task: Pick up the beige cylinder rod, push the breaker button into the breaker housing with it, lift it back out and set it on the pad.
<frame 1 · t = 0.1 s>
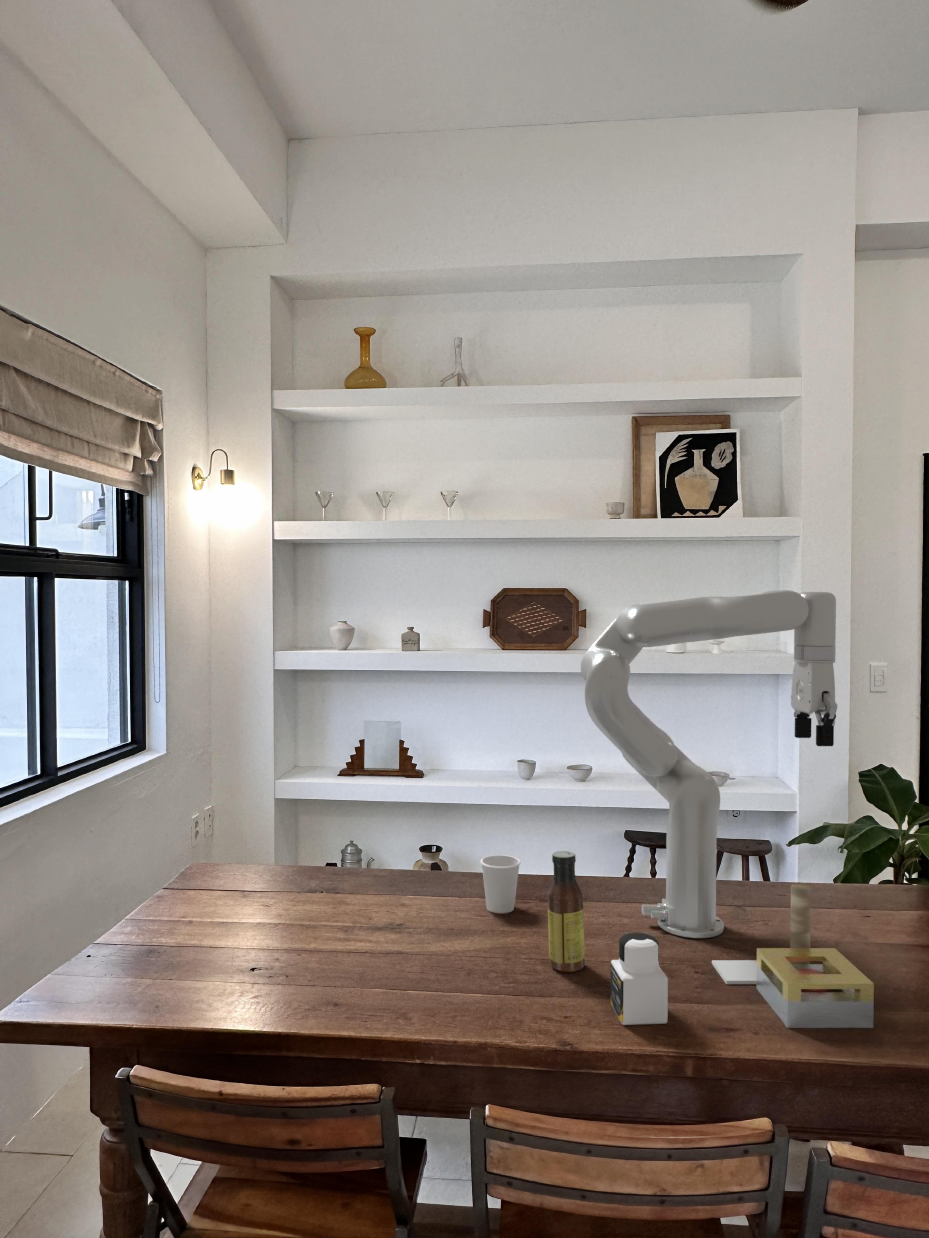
hand: (813, 741, 166), 37 cm above the table, tool pointing down, fingers open, 9 cm apart
breaker button: (812, 983, 133), point 4 cm above the table, slide at 0.0 cm
pad: (742, 973, 145), on the table
beige cylinder rod: (799, 973, 145), on the table
breaker housing: (811, 1006, 133), on the table
sauce bottle: (565, 967, 148), on the table
medicine bottle: (638, 1014, 131), on the table
dixie cup: (500, 909, 176), on the table
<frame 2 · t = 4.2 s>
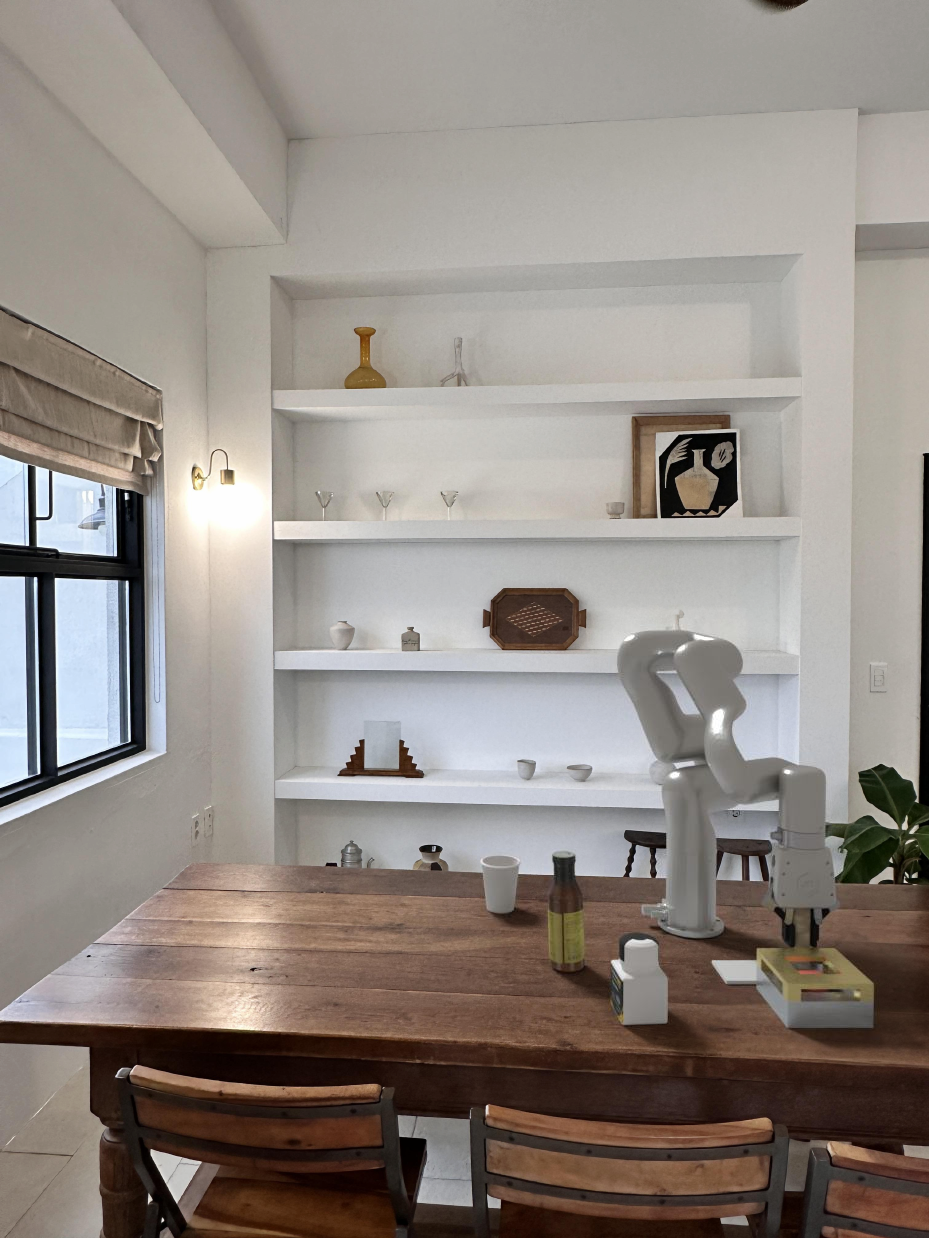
hand: (800, 943, 145), 5 cm above the table, tool pointing down, fingers closed on beige cylinder rod, 3 cm apart
beige cylinder rod: (799, 973, 145), on the table, touching gripper
everything else where it was.
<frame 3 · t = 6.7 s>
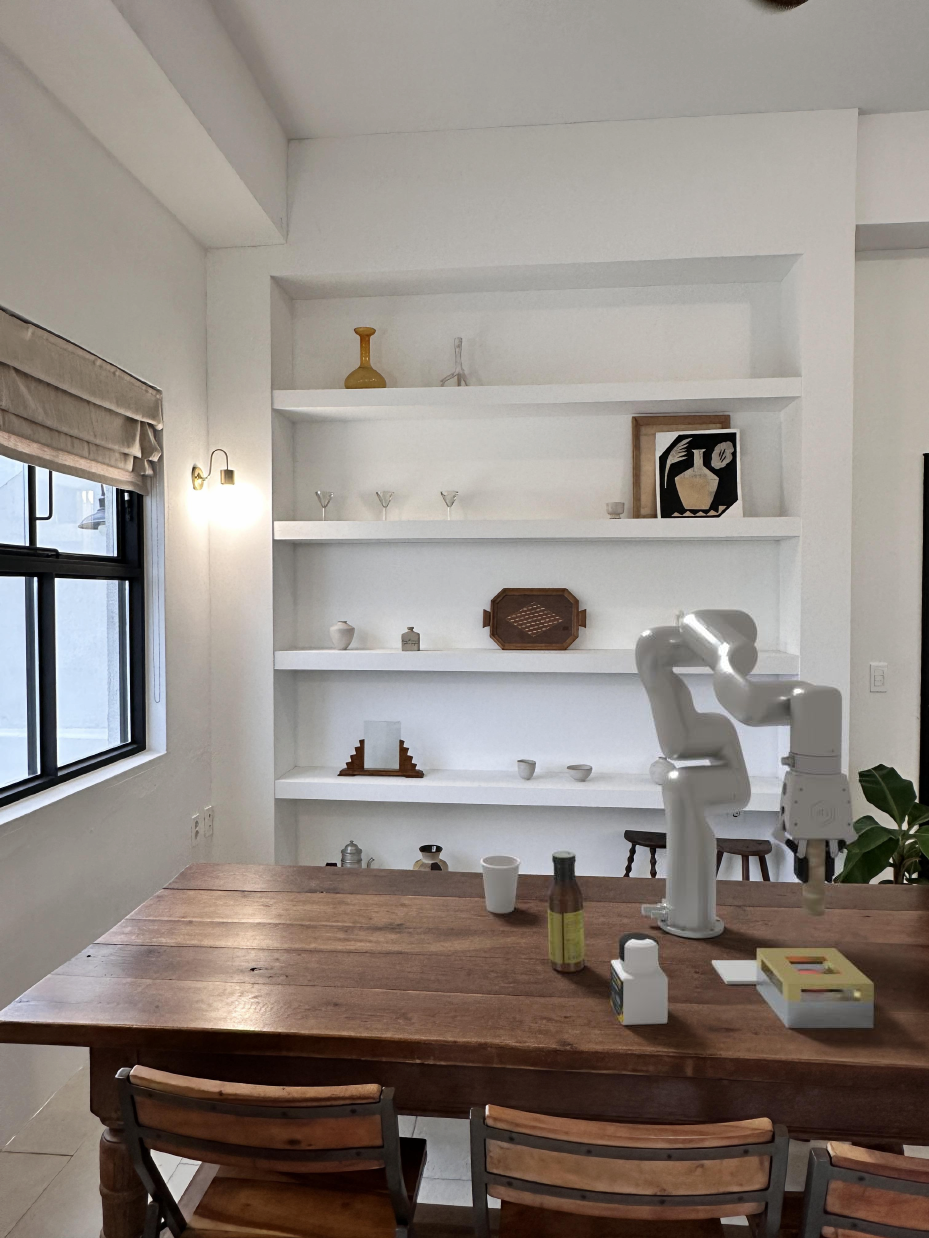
hand: (814, 879, 133), 20 cm above the table, tool pointing down, fingers closed on beige cylinder rod, 3 cm apart
beige cylinder rod: (813, 912, 133), point 15 cm above the table, touching gripper
everything else where it was.
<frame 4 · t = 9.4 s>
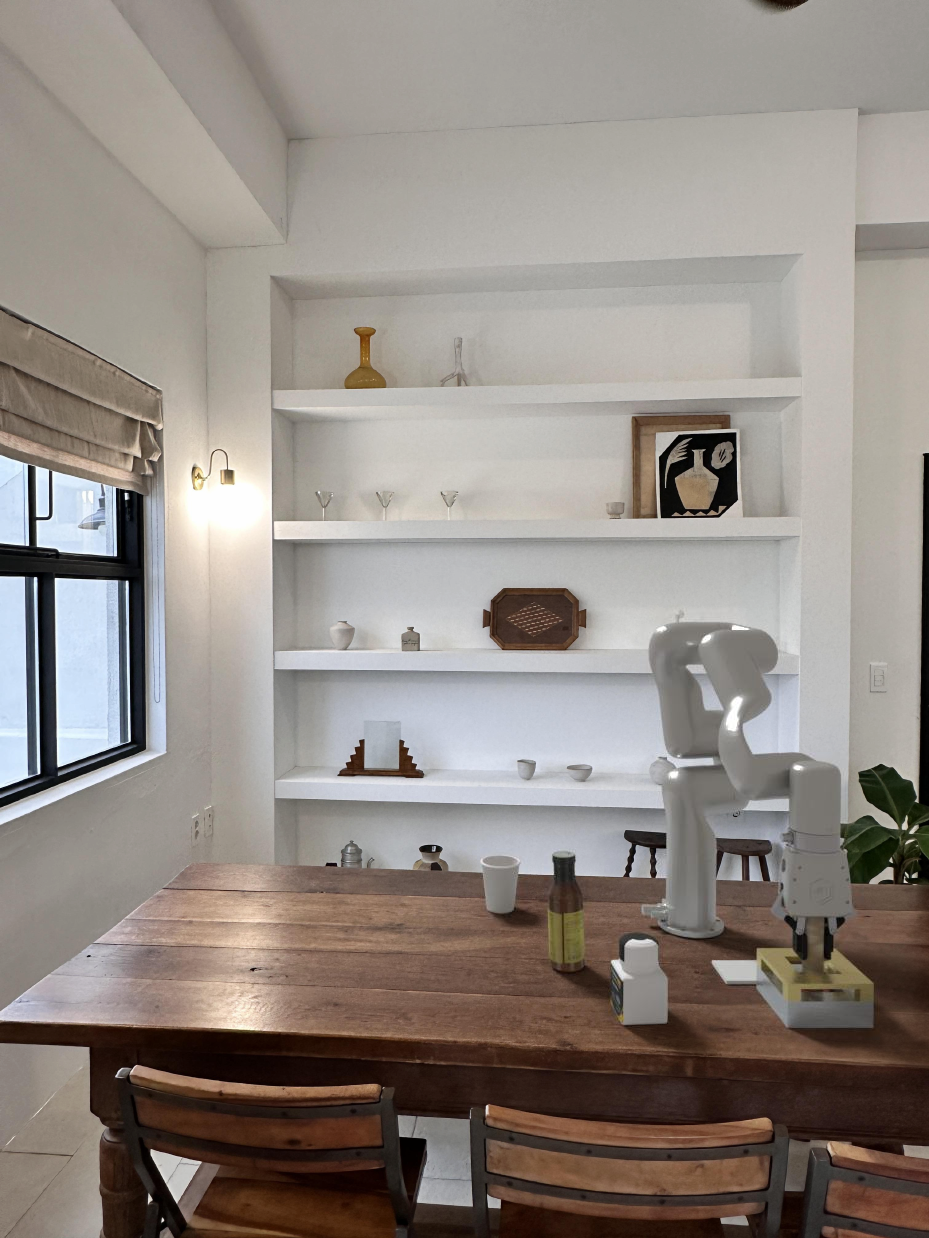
hand: (812, 955, 133), 8 cm above the table, tool pointing down, fingers closed on beige cylinder rod, 3 cm apart
breaker button: (812, 995, 133), point 2 cm above the table, slide at 2.0 cm
beige cylinder rod: (812, 988, 133), point 3 cm above the table, touching gripper
everything else where it was.
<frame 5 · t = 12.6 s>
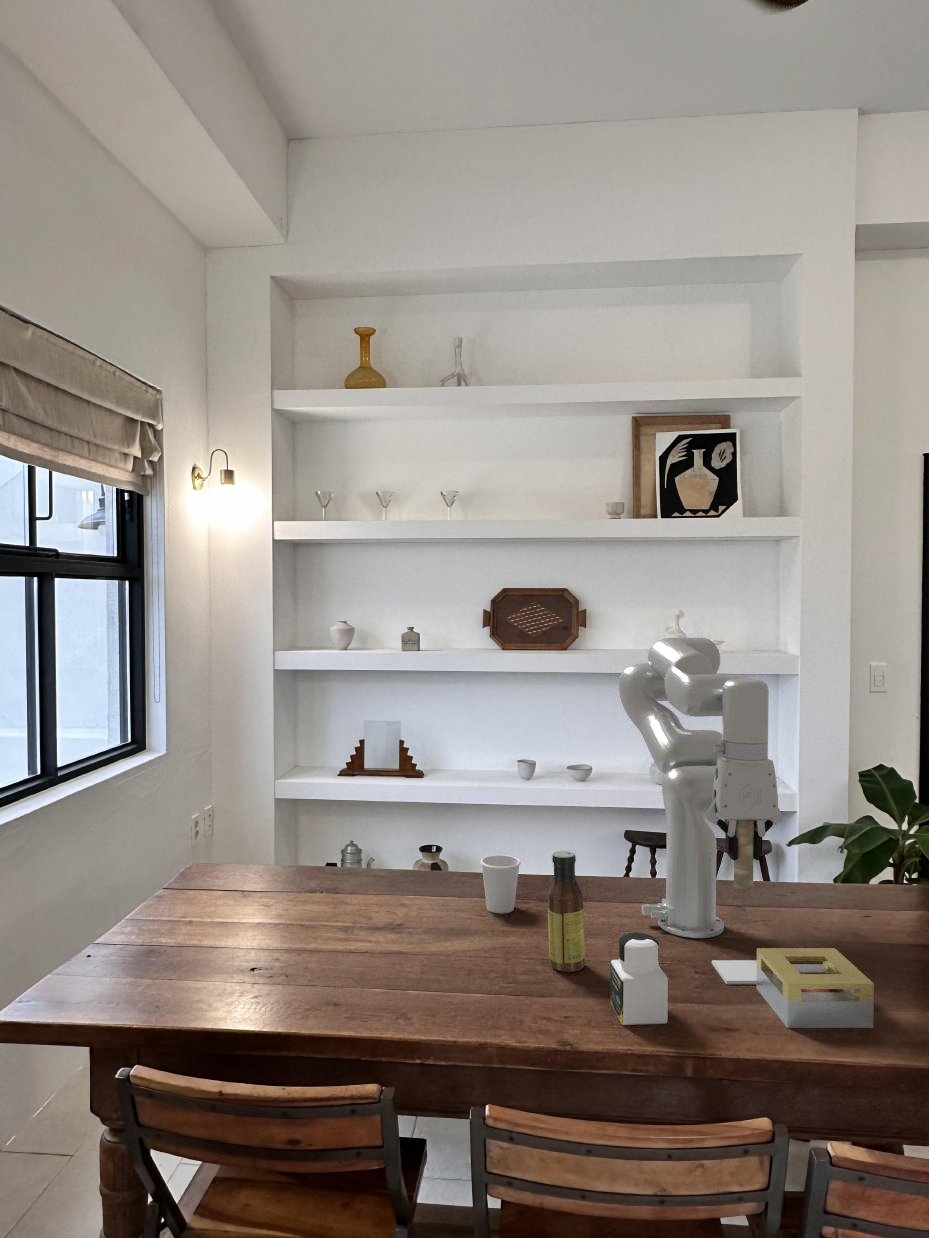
hand: (743, 856, 145), 20 cm above the table, tool pointing down, fingers closed on beige cylinder rod, 3 cm apart
beige cylinder rod: (743, 886, 145), point 15 cm above the table, touching gripper
everything else where it was.
when the fingers open (7 cm above the table, at t = 15.6 s): beige cylinder rod stays where it is, resting on pad.
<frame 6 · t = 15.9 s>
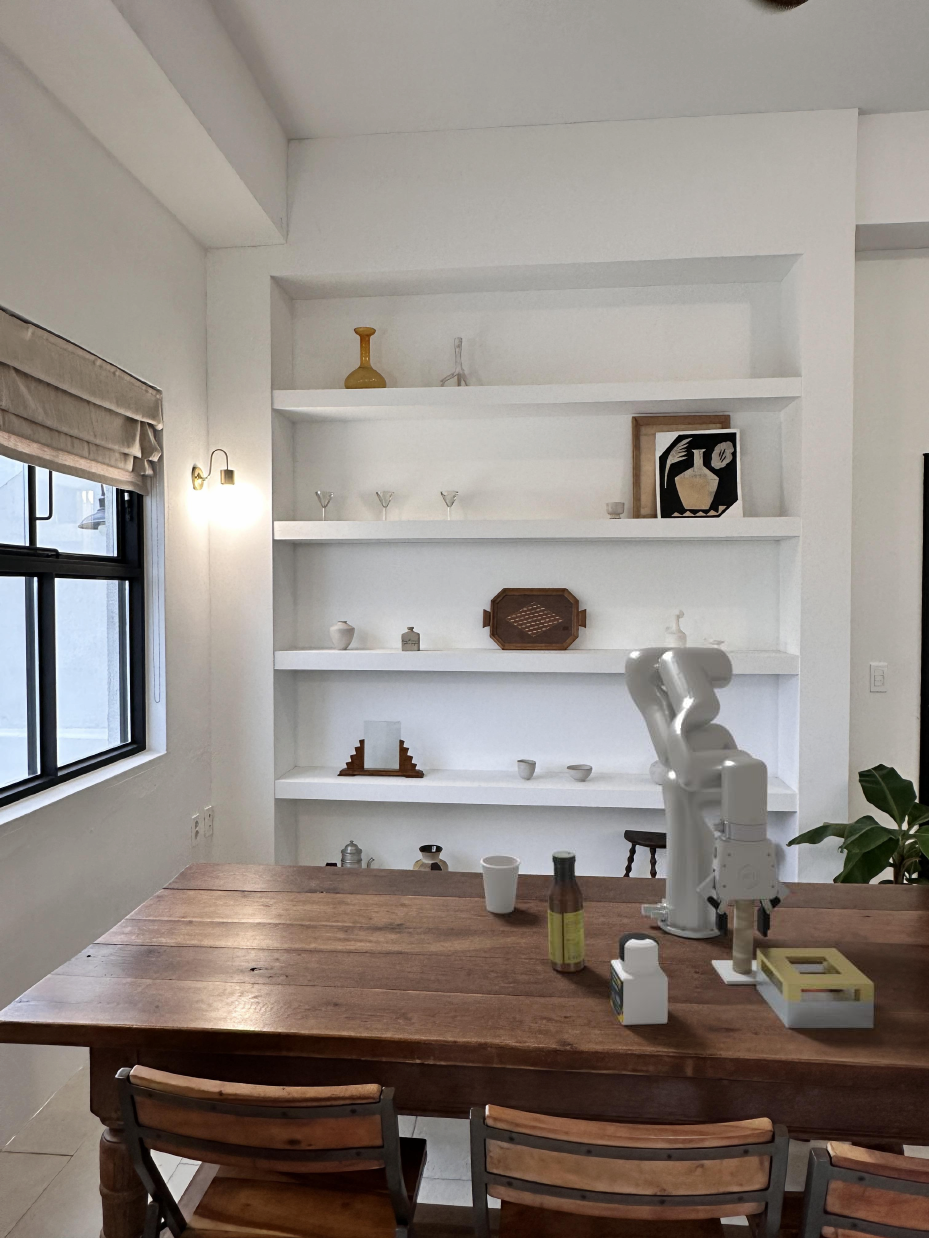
hand: (742, 933, 145), 7 cm above the table, tool pointing down, fingers open, 6 cm apart
beige cylinder rod: (742, 969, 145), point 1 cm above the table, touching pad
everything else where it was.
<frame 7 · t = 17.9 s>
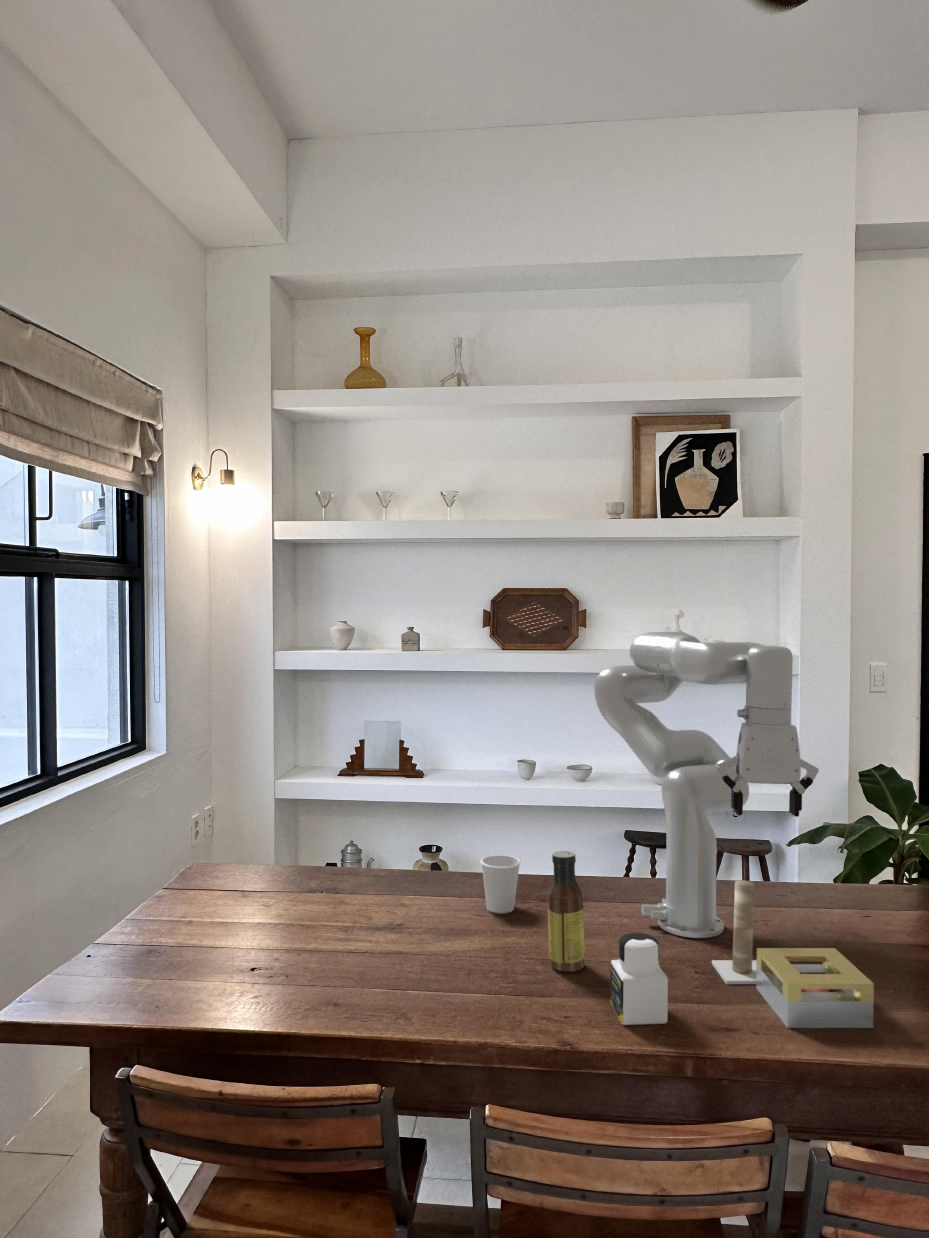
hand: (766, 813, 148), 27 cm above the table, tool pointing down, fingers open, 9 cm apart
nothing on the table moved.
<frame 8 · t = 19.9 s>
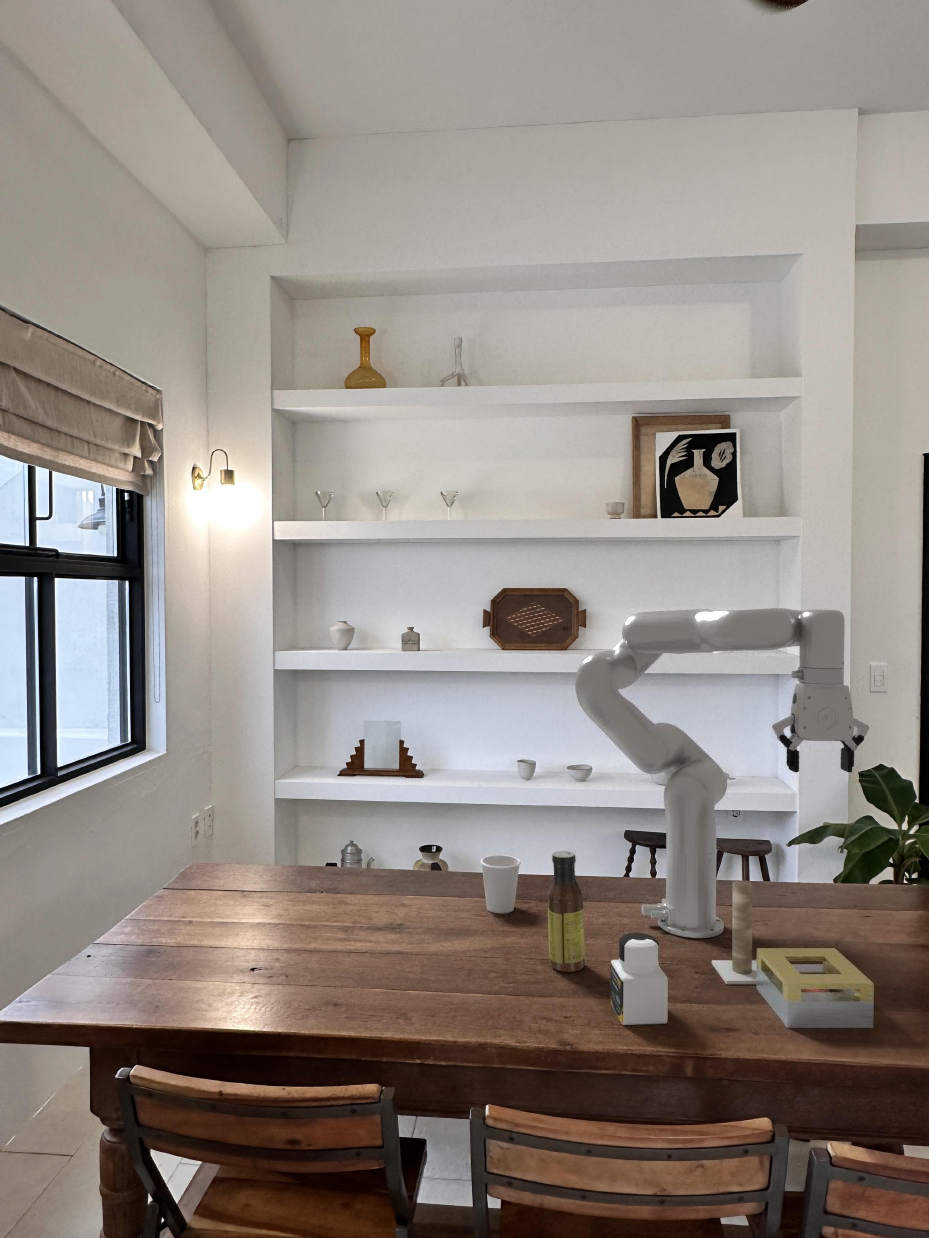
hand: (820, 770, 154), 33 cm above the table, tool pointing down, fingers open, 9 cm apart
nothing on the table moved.
at the end: breaker button slide at 2.0 cm; beige cylinder rod inside the target area on the pad (0.0 cm from its centre), point 0.6 cm above the pad's base; beige cylinder rod tilted 1° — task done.
